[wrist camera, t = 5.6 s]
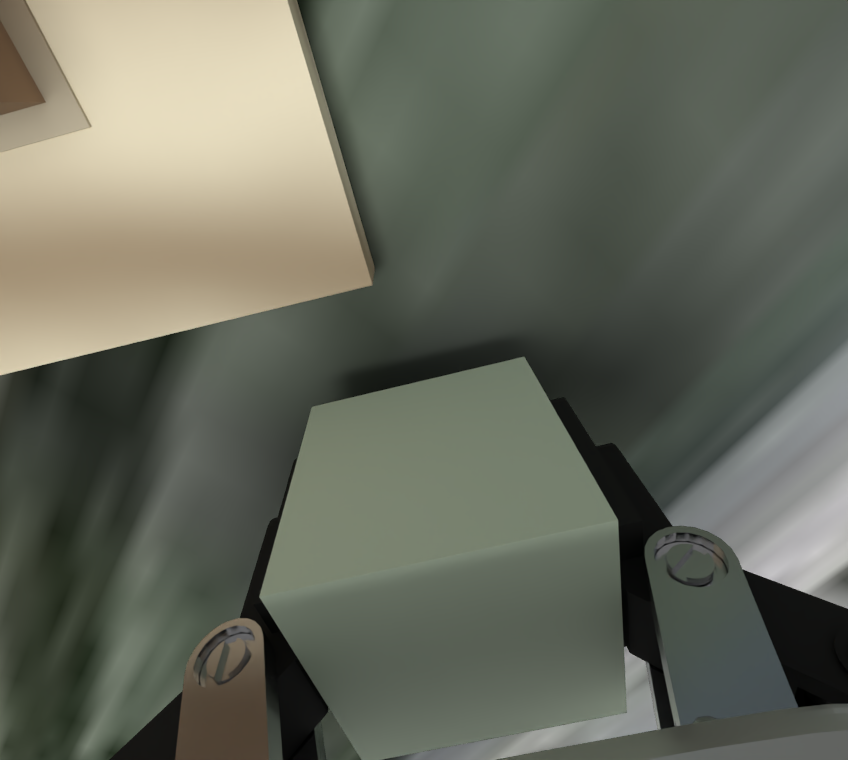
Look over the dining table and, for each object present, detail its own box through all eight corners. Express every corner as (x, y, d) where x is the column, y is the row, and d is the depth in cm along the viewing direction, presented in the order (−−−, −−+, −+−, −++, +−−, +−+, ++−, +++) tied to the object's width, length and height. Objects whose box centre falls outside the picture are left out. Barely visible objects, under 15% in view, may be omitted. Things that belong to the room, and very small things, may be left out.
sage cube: (547, 514, 13) (626, 712, 9) (372, 552, 13) (363, 763, 9) (524, 356, 11) (618, 520, 6) (312, 406, 11) (258, 596, 7)
